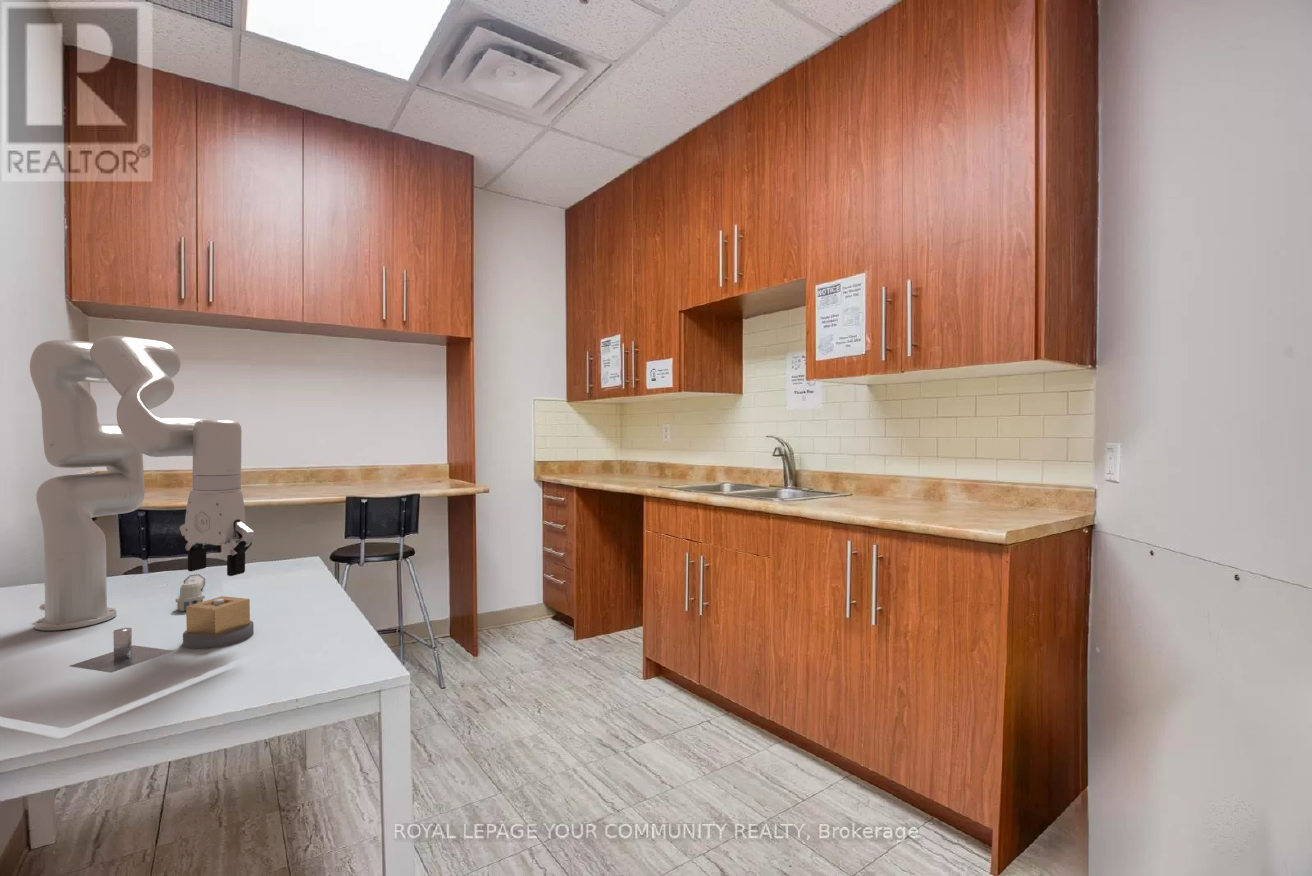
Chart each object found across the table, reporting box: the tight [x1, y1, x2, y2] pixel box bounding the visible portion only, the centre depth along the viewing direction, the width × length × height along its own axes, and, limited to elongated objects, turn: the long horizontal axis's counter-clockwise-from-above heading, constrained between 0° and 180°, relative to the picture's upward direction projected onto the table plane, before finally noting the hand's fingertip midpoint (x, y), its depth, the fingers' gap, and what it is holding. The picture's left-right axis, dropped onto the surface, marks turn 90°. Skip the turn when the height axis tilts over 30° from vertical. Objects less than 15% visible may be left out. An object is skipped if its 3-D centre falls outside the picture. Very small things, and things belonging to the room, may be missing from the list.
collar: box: [185, 595, 251, 636], centre depth 115 cm, size 7×7×5 cm
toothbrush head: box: [175, 573, 206, 612], centre depth 145 cm, size 5×7×25 cm
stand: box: [69, 627, 174, 673], centre depth 105 cm, size 10×10×6 cm
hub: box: [182, 599, 255, 650], centre depth 115 cm, size 11×11×8 cm
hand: (216, 572), depth 115 cm, fingers open, 9 cm apart
